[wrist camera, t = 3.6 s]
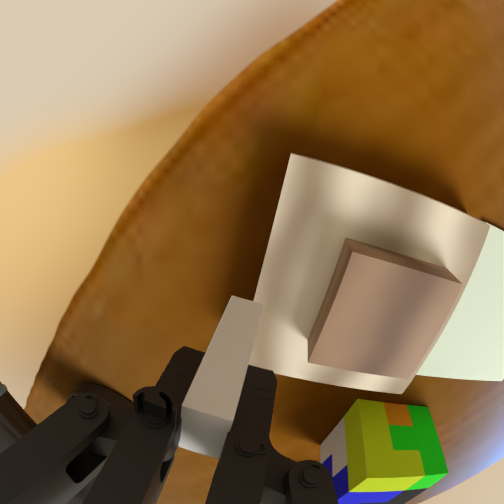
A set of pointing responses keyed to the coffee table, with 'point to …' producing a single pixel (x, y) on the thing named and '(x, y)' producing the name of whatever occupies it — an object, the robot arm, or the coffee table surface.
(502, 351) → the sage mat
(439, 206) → the plate
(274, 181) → the coffee table surface
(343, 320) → the walnut tile
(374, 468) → the puzzle toy
